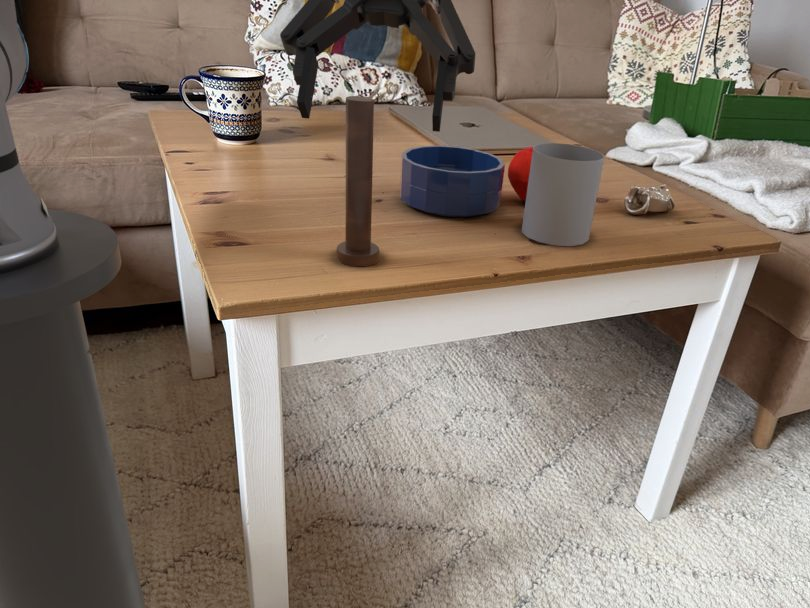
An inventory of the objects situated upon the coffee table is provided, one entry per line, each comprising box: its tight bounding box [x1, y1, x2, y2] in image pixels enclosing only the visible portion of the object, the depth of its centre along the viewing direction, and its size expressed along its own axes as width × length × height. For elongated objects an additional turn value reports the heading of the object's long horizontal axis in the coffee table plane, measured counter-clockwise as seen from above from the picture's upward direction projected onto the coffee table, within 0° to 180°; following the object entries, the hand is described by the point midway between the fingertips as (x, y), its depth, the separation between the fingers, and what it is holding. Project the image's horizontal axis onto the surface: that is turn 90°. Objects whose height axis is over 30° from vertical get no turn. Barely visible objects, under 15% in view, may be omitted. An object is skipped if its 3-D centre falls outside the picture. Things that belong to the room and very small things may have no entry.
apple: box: [507, 146, 533, 203], centre depth 92 cm, size 8×8×7 cm
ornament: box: [623, 183, 676, 216], centre depth 94 cm, size 8×7×4 cm
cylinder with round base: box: [336, 95, 380, 267], centre depth 66 cm, size 4×4×16 cm
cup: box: [521, 142, 605, 247], centre depth 80 cm, size 8×8×10 cm
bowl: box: [399, 145, 506, 218], centre depth 88 cm, size 13×13×6 cm
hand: (369, 117), depth 68 cm, fingers open, 13 cm apart
